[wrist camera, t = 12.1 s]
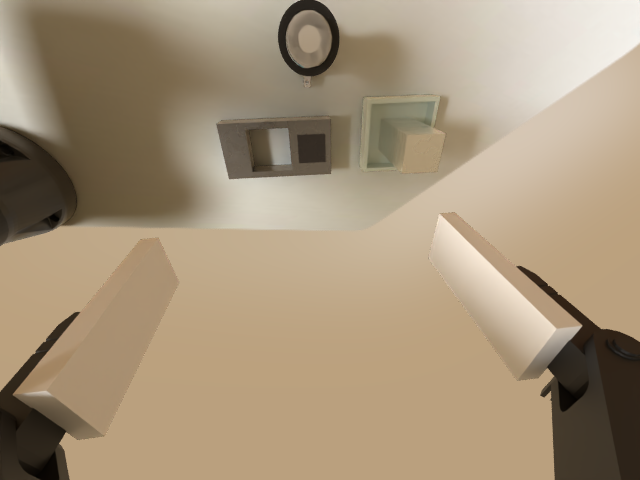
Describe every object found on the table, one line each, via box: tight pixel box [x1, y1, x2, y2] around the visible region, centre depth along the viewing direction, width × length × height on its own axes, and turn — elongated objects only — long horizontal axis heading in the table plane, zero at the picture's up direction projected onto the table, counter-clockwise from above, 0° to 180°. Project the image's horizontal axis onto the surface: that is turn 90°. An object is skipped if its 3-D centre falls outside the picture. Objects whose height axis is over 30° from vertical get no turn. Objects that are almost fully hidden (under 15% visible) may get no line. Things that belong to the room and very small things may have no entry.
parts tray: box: [359, 95, 440, 172], centre depth 35 cm, size 9×9×2 cm
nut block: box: [378, 117, 446, 174], centre depth 32 cm, size 4×4×10 cm
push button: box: [278, 0, 339, 87], centre depth 26 cm, size 7×5×10 cm
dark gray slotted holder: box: [217, 116, 331, 179], centre depth 35 cm, size 14×7×3 cm, turn 92°
